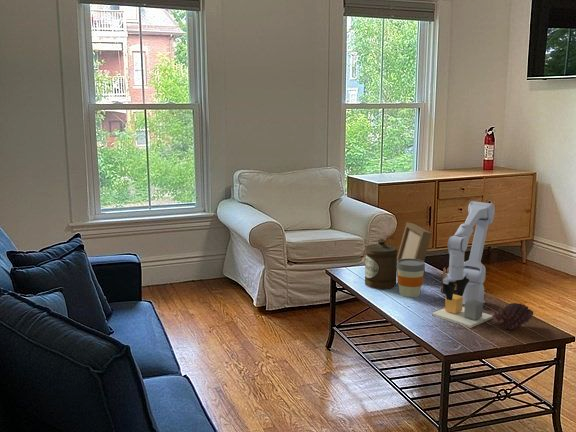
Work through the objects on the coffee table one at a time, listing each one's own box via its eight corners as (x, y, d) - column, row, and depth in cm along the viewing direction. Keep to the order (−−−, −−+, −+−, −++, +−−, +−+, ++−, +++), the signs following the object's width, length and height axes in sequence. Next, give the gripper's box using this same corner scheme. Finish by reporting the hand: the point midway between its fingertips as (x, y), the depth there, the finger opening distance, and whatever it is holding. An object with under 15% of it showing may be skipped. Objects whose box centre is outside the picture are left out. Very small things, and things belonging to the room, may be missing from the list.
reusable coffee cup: (411, 300, 267) (412, 267, 264) (389, 293, 277) (390, 261, 274) (429, 294, 275) (431, 262, 272) (407, 287, 285) (408, 256, 282)
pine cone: (523, 320, 244) (525, 296, 242) (541, 329, 235) (544, 304, 233) (487, 326, 238) (488, 301, 236) (503, 335, 229) (505, 310, 227)
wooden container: (360, 280, 296) (361, 236, 291) (389, 279, 299) (391, 235, 294) (370, 290, 282) (371, 243, 277) (401, 288, 284) (402, 242, 280)
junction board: (454, 306, 260) (455, 289, 258) (492, 318, 246) (493, 300, 245) (431, 315, 249) (432, 297, 248) (470, 327, 236) (471, 309, 235)
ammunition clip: (461, 290, 281) (463, 265, 279) (463, 291, 279) (465, 266, 277) (440, 292, 278) (441, 267, 276) (442, 293, 277) (443, 268, 274)
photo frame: (409, 282, 292) (412, 231, 287) (393, 270, 313) (396, 222, 308) (438, 281, 295) (441, 230, 290) (421, 269, 316) (423, 221, 311)
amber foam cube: (451, 307, 254) (452, 293, 253) (462, 310, 251) (463, 296, 249) (444, 310, 251) (445, 296, 250) (455, 313, 247) (456, 299, 246)
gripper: (458, 260, 254) (456, 291, 257) (437, 266, 245) (435, 298, 248) (473, 263, 249) (471, 295, 252) (452, 270, 240) (450, 303, 243)
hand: (454, 297), depth 250 cm, fingers open, 7 cm apart
